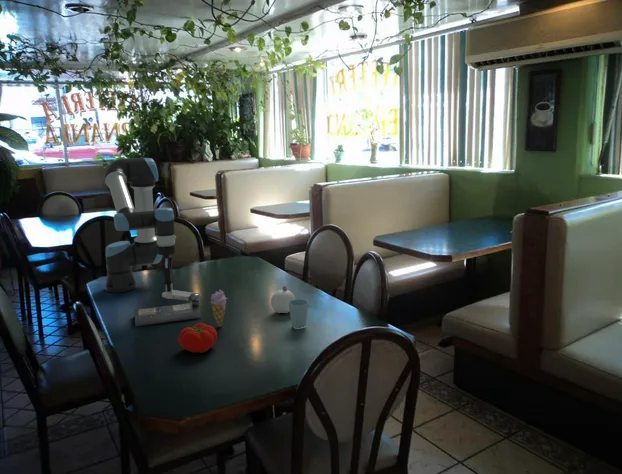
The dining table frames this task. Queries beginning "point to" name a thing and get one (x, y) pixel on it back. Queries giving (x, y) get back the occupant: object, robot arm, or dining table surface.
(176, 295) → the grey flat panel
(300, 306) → the cup
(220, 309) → the ice cream cone
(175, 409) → the dining table surface
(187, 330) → the tomato
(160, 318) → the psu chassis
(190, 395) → the dining table surface
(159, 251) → the robot arm
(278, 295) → the ornament
